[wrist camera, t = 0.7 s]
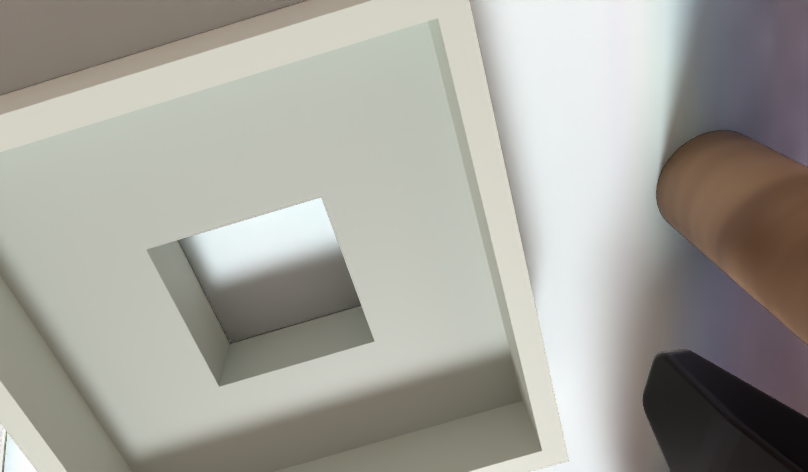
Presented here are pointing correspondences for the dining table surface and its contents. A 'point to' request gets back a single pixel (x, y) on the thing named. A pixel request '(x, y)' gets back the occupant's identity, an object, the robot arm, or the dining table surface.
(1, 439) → the syrup box
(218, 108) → the bore box
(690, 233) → the peg
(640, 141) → the dining table surface
